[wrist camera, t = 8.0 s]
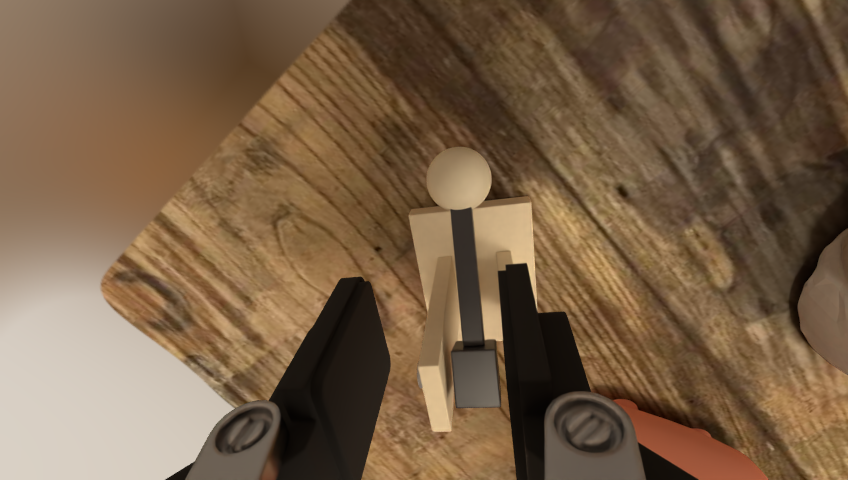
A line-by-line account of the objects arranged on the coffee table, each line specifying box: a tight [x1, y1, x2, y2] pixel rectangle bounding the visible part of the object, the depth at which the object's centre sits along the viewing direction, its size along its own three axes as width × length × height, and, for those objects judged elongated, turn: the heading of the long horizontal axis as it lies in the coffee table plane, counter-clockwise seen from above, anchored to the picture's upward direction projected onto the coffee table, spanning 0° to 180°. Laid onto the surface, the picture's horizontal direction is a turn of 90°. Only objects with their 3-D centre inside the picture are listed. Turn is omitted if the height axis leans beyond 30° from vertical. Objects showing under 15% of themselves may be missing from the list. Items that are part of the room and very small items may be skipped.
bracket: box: [409, 196, 537, 432], centre depth 25 cm, size 11×8×12 cm
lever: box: [426, 147, 501, 408], centre depth 21 cm, size 13×3×3 cm, turn 9°
